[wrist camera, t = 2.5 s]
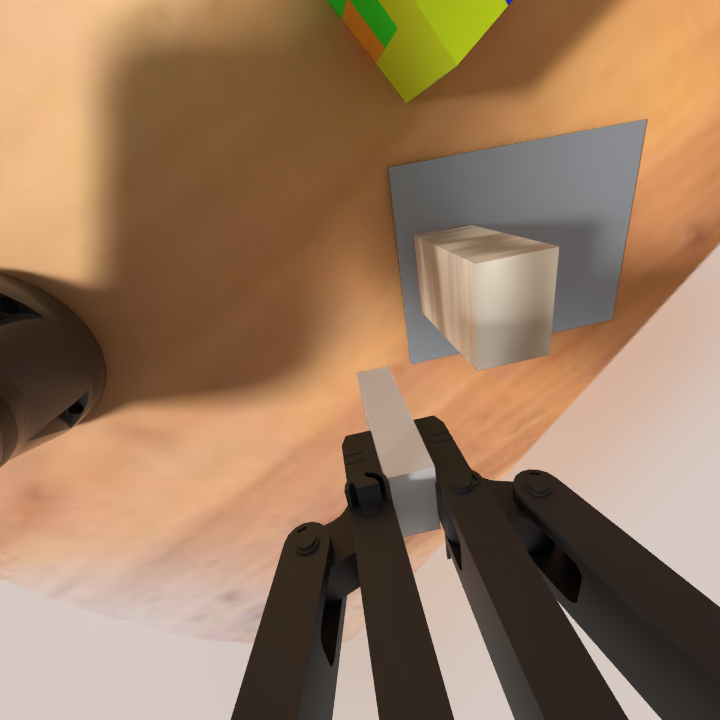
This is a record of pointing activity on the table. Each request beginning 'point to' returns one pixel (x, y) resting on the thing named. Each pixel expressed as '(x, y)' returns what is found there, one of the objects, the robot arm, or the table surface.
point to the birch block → (488, 292)
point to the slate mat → (527, 216)
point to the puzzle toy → (418, 35)
